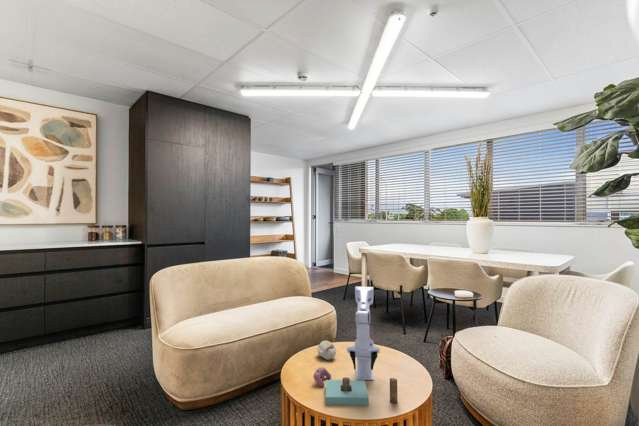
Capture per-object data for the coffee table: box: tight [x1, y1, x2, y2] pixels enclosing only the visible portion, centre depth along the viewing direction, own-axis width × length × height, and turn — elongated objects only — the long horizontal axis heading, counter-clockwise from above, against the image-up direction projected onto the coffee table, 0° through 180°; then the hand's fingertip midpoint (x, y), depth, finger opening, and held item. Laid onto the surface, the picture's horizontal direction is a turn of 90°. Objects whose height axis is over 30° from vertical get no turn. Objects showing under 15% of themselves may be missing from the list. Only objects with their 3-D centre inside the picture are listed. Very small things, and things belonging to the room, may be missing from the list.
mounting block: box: [325, 379, 370, 406], centre depth 132 cm, size 14×18×3 cm
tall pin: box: [389, 377, 399, 404], centre depth 127 cm, size 3×3×9 cm
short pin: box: [341, 377, 351, 391], centre depth 132 cm, size 3×3×7 cm
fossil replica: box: [316, 339, 337, 361], centre depth 170 cm, size 12×8×10 cm
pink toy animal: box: [313, 366, 332, 388], centre depth 144 cm, size 10×5×7 cm, turn 155°
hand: (363, 368), depth 134 cm, fingers open, 7 cm apart
